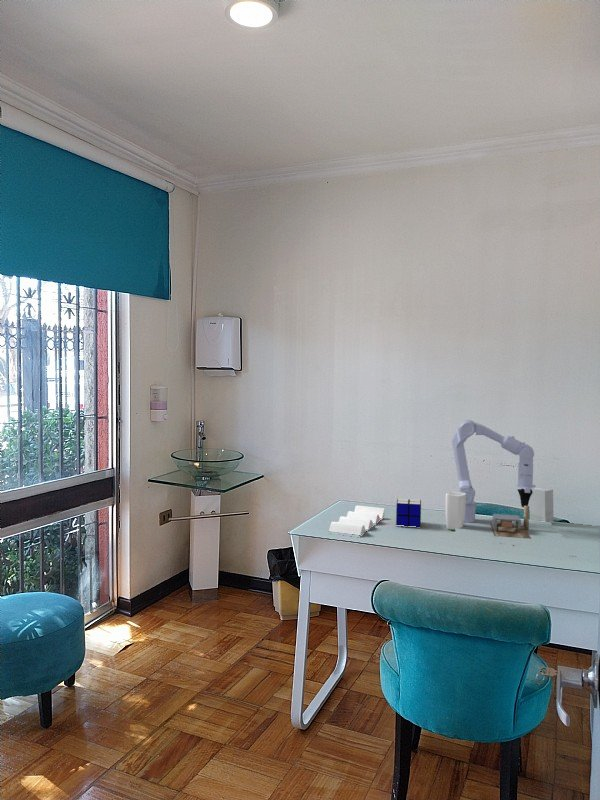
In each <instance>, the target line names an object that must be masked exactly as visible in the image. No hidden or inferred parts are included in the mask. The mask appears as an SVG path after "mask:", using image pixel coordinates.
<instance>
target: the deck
mask: <svg viewBox="0 0 600 800" xmlns="http://www.w3.org/2000/svg"><path fill="white" fill-rule="evenodd" d="M489 525H490V529H491V530H492V534H493V536H494V537H502V538H503V537H504V538H517V539H531V540H532V537H531V536H530V534H529V532H528V529H518V528H516V532H509V531H498V527H497V532H494V530H493V527H492V523H489Z"/></svg>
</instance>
